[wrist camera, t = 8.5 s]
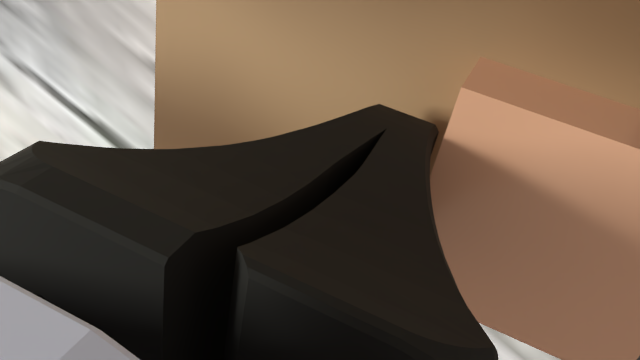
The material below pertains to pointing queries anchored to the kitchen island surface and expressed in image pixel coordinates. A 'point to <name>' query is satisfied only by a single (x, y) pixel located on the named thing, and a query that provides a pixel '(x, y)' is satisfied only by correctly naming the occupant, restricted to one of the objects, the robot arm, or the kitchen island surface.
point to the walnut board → (369, 59)
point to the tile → (543, 212)
